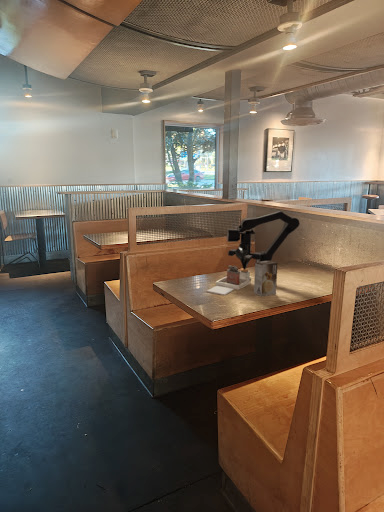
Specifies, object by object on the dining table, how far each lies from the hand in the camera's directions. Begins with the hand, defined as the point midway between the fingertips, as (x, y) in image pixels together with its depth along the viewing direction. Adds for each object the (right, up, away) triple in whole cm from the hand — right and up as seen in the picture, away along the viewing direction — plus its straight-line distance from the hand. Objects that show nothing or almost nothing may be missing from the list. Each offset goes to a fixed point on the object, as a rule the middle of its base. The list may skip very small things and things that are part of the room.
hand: (244, 269), depth 202 cm
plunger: (0, -4, +1) cm, 4 cm away
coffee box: (+7, -11, -23) cm, 26 cm away
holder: (-5, -7, -5) cm, 10 cm away
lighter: (-7, -8, -8) cm, 14 cm away
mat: (-15, -10, -20) cm, 27 cm away
